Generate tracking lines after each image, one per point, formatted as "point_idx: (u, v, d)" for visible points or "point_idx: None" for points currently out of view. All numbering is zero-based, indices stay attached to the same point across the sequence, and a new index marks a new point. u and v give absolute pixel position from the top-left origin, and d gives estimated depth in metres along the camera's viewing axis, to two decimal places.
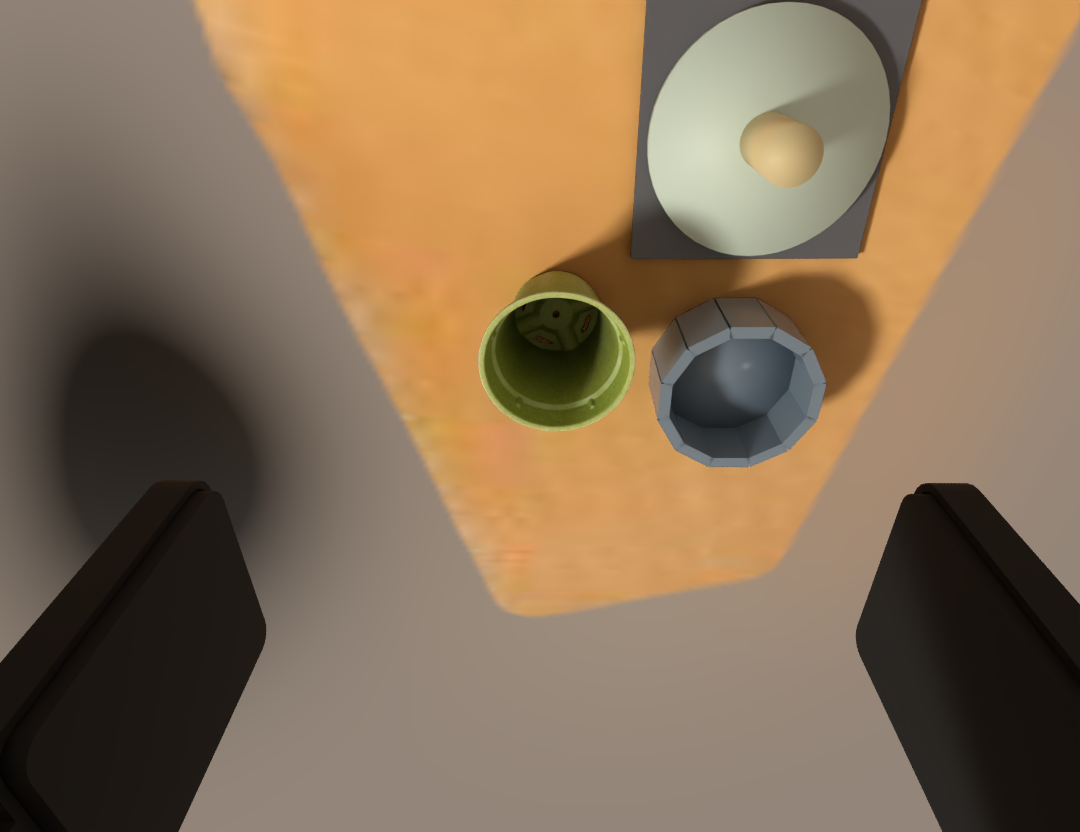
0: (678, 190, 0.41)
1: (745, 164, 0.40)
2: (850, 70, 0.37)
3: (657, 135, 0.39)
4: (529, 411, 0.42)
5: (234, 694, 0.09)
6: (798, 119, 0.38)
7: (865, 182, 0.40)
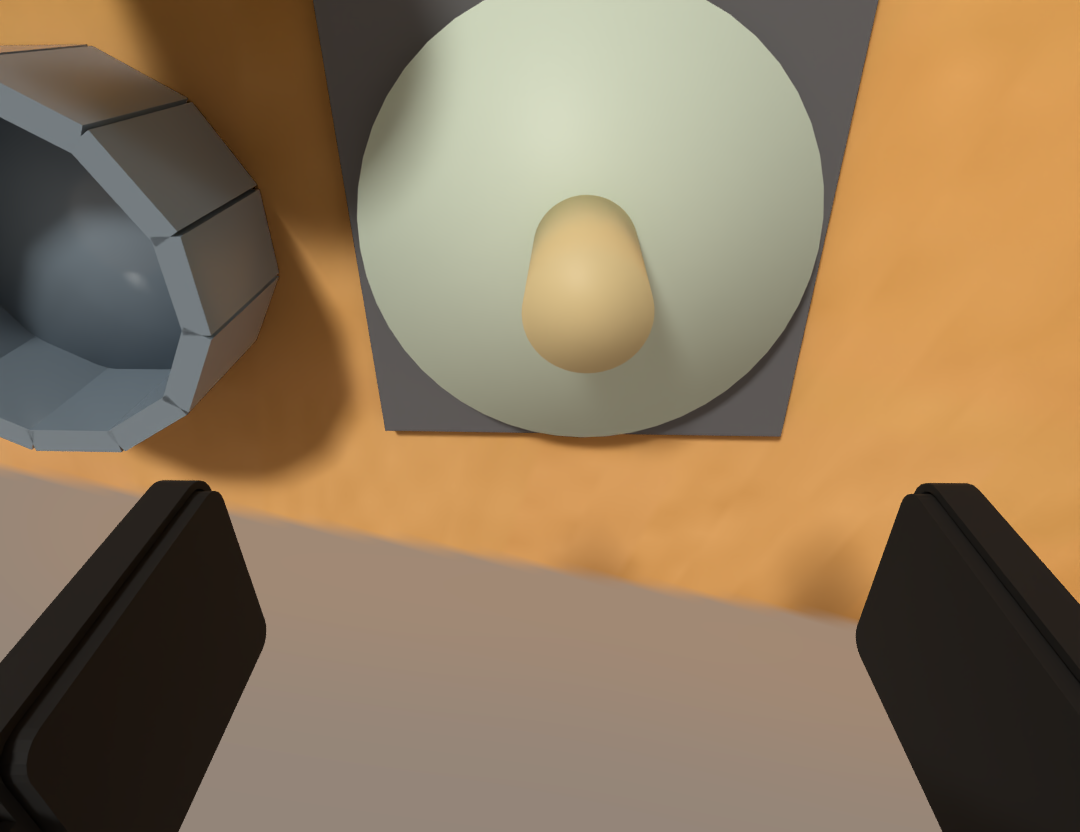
0: (483, 64, 0.17)
1: (541, 213, 0.19)
2: (692, 366, 0.22)
3: None
4: None
5: (234, 694, 0.09)
6: None
7: (514, 422, 0.24)
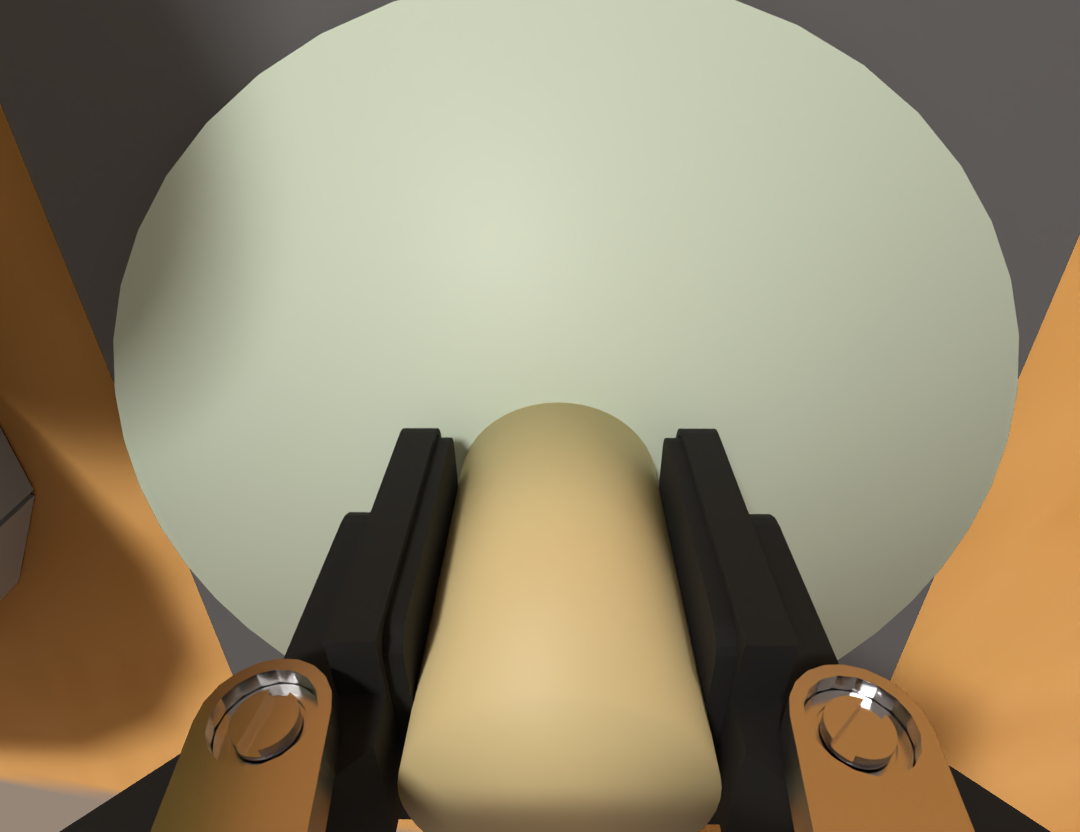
0: (330, 170, 0.08)
1: (473, 432, 0.10)
2: None
3: (589, 23, 0.07)
4: None
5: None
6: None
7: None
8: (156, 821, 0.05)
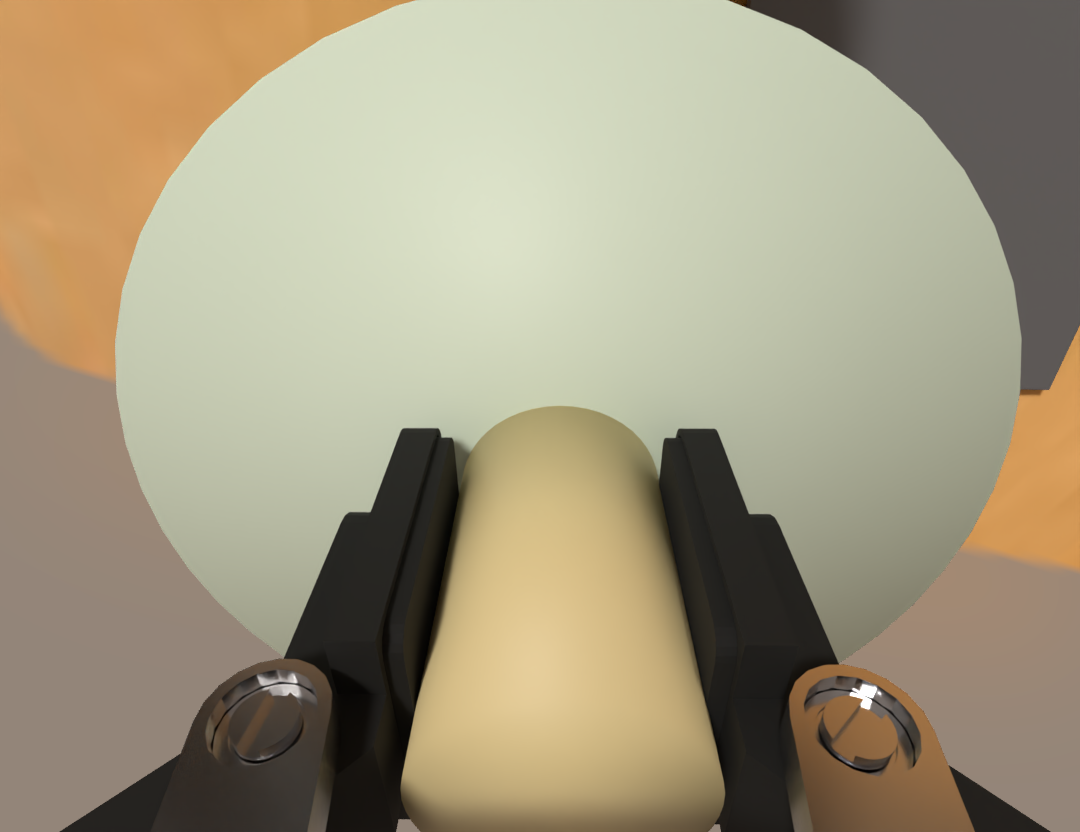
0: (333, 174, 0.08)
1: (475, 435, 0.10)
2: None
3: (591, 27, 0.07)
4: None
5: None
6: None
7: None
8: (157, 821, 0.05)
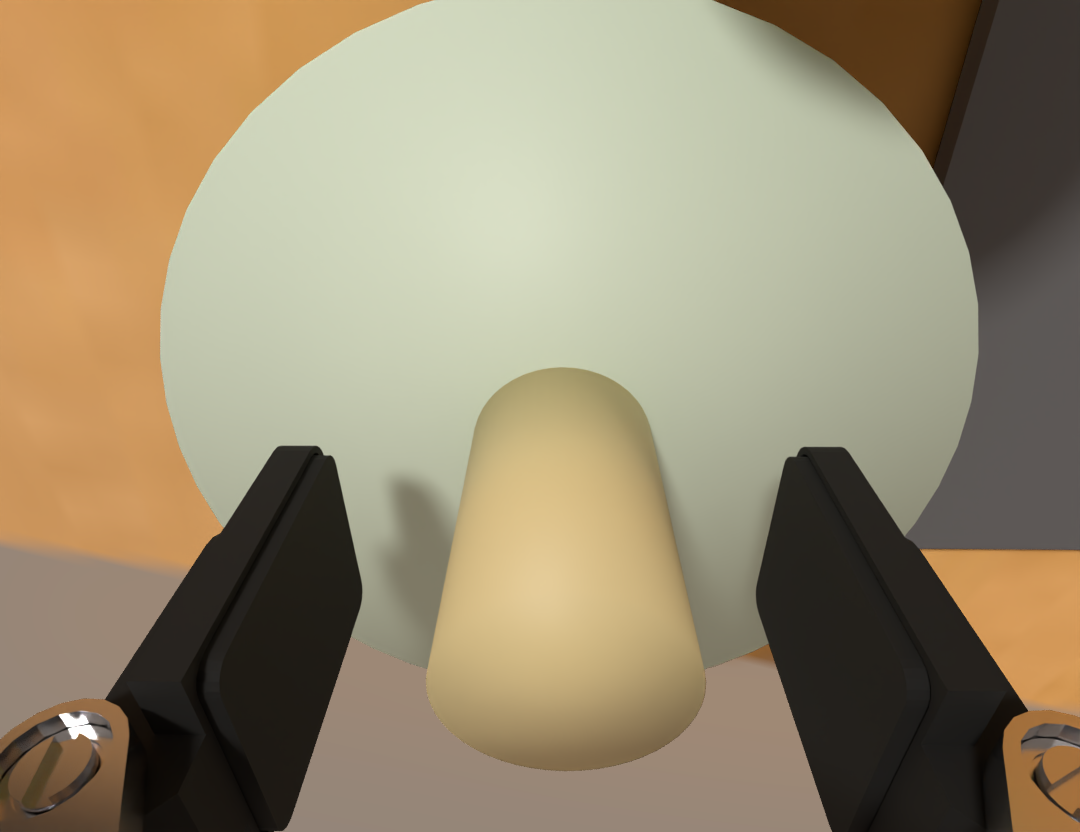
0: (361, 153, 0.09)
1: (485, 395, 0.11)
2: (736, 604, 0.14)
3: (591, 23, 0.08)
4: None
5: (342, 646, 0.10)
6: None
7: None
8: None
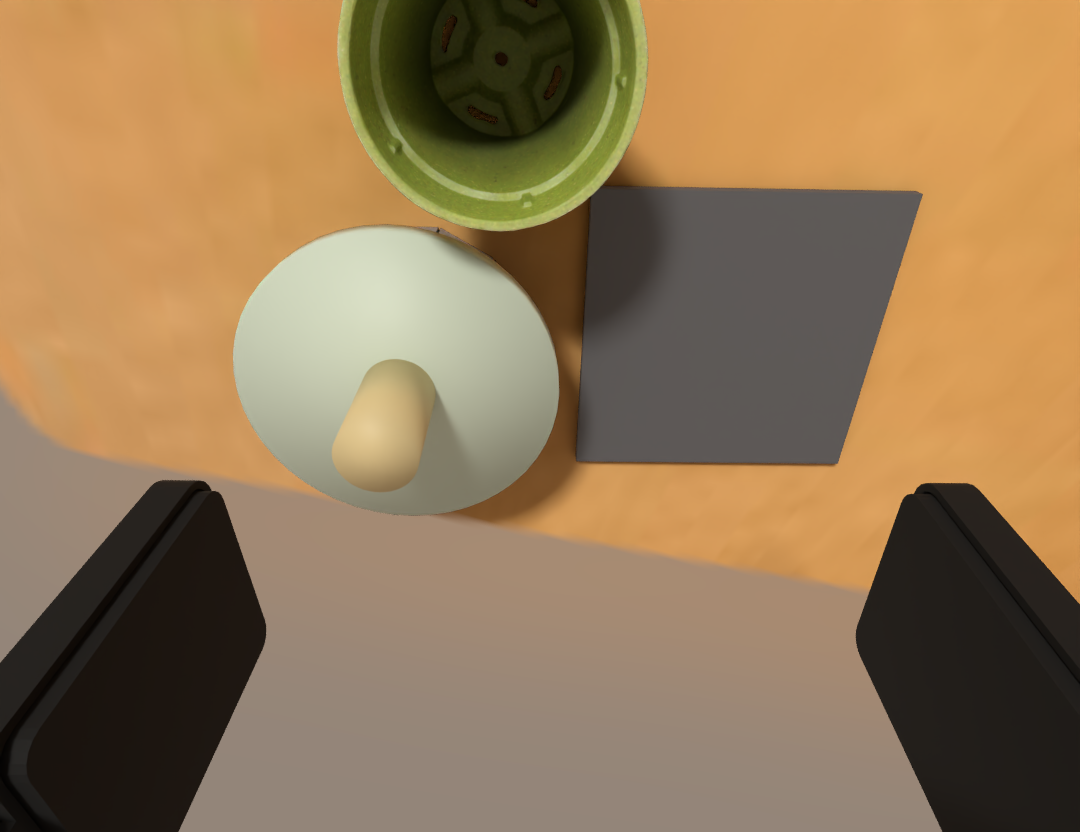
0: (314, 281, 0.26)
1: (365, 369, 0.28)
2: (485, 467, 0.31)
3: (391, 243, 0.25)
4: (368, 5, 0.20)
5: (234, 694, 0.09)
6: (428, 423, 0.29)
7: (361, 506, 0.32)
8: None
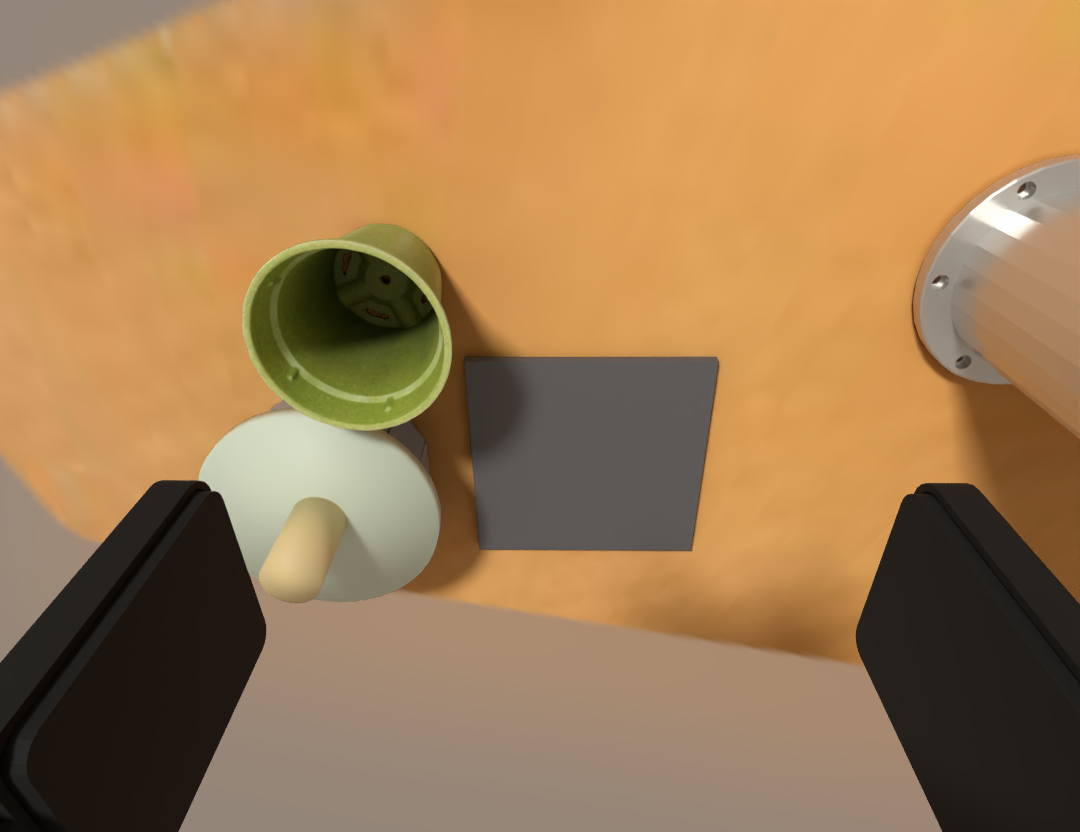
0: (250, 448, 0.36)
1: (293, 504, 0.38)
2: (391, 569, 0.40)
3: (302, 424, 0.35)
4: (264, 299, 0.29)
5: (234, 694, 0.09)
6: (344, 539, 0.39)
7: None
8: None
